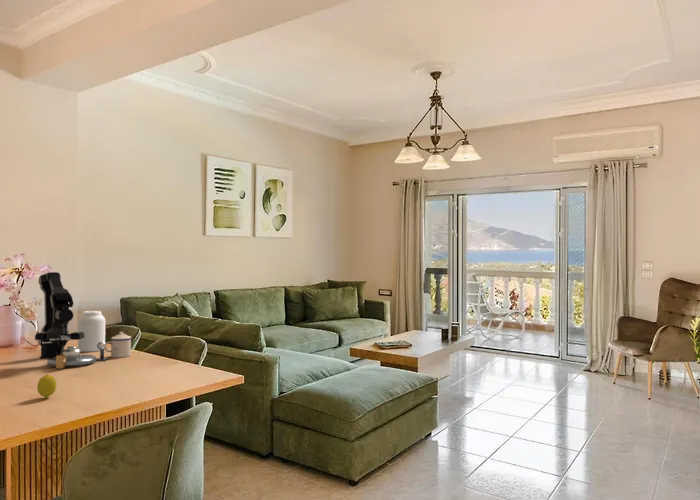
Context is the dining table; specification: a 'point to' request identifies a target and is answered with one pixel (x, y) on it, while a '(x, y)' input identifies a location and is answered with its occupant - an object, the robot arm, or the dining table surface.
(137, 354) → the dining table surface
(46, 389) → the lemon
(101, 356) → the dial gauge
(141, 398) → the dining table surface
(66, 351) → the cover
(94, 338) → the white jar
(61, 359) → the platter
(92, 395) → the dining table surface
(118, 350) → the teacup with lid
